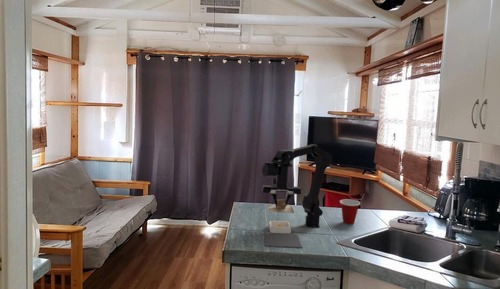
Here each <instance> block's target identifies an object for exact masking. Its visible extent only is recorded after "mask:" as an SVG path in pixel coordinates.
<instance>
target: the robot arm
mask: <svg viewBox="0 0 500 289" xmlns="http://www.w3.org/2000/svg"><path fill="white" fill-rule="evenodd" d="M309 154H311V155H312V157H314V164H315V168H314V173H313V177H312V181H311V185H310V188H309V191H308V194H307V195H304V196H303V198H302V202H301V204H302V205H301V206H302V208H303V210H304V213H306V215H305V217H304V218H305V221H304V224H305V225H306V227H308V228H320V217H321V216H322V215H323V214H324V212H323V210H322V209H321V208H320V198H319V195H320V191H321V186H322V183H323V180H324V175H325V172H326V169H328V167H329V166H330V165H331V163H332V158H333V156H332V154H331V152H327V150H325V149H323V148H321V147H320V146H319V145H318V144H314V143H313V144H312V143H310V144H309V145H304V146H300V147H296V148H293V149H278V150H277V151H276V153H275V156H274V157H273V158H272V159H271V161H270V162H268V161H265V162H264V165H263V166H262V168H261V173H262V175H263V177H273V178H272V182H271V184H272V186H273V187H272V186H271V184H270V185H268V184H267V185H266V184H263V185H262V189H261V190H262V193H263V194H265V193H266V194H270V195H271V196H272V197H273V200H274V205H276V207H277V199H278V197H277V192H282V193H284V192H285V207H286V205H287V206H288V202H289V200H290V199H291V197H292V196H294V195H301V194H302V189H301V187H300V186H292V187H288V186H289V185H288V183H289V168H290V167H291V168H292V167H293V164H292V163H291V161H293V160H294V159H295V158H298V157H302V156H306V155H309ZM274 177H276V178H274ZM274 186H275V187H274Z"/></svg>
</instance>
